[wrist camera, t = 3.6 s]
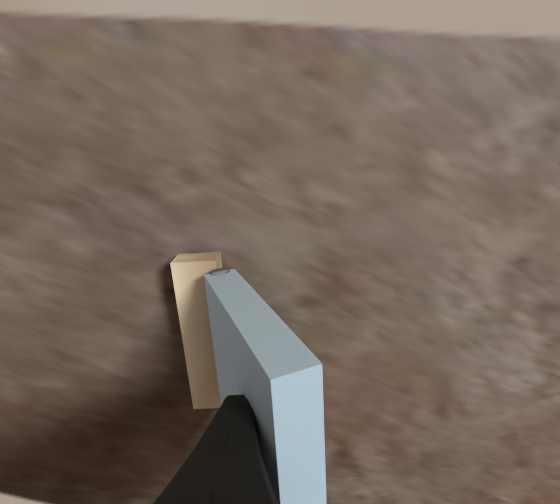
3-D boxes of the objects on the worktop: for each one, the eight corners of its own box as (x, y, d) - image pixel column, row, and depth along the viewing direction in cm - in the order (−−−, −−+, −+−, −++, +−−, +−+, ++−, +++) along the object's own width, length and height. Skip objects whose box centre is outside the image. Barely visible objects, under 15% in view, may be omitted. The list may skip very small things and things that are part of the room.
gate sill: (199, 391, 17) (193, 409, 16) (178, 253, 15) (170, 263, 14) (236, 389, 17) (233, 407, 16) (220, 251, 15) (215, 260, 14)
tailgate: (219, 408, 16) (287, 591, 9) (201, 271, 14) (270, 380, 7) (246, 399, 16) (328, 568, 10) (231, 265, 14) (322, 363, 8)
